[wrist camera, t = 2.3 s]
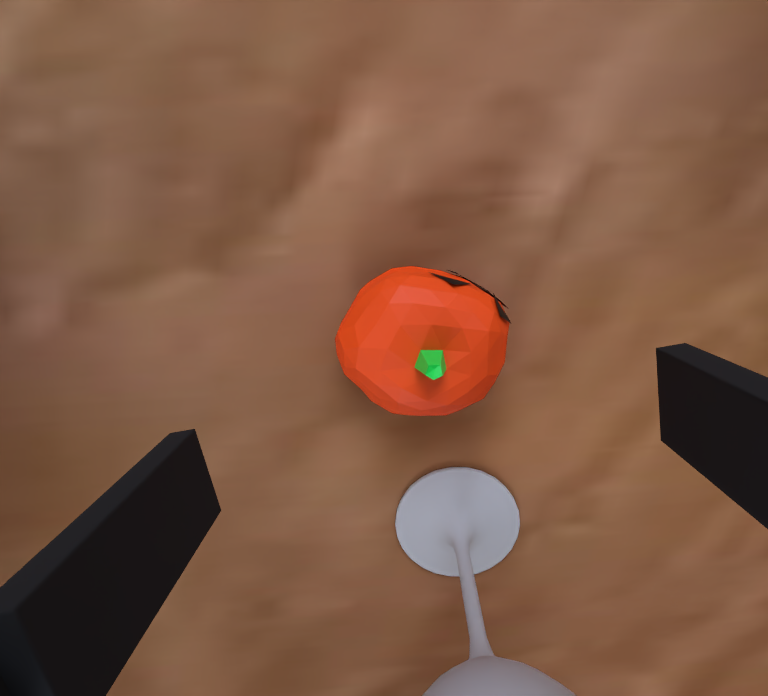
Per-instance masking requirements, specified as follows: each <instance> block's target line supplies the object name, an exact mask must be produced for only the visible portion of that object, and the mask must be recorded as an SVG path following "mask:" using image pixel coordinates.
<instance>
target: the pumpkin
mask: <svg viewBox="0 0 768 696" xmlns="http://www.w3.org/2000/svg"><path fill="white" fill-rule="evenodd" d="M448 271H449V270H448ZM451 272H453V271H451ZM453 273H456V272H453ZM456 274H458V273H456ZM458 275H459V274H458ZM460 276H461V275H460ZM460 276H457V275H453V274H450V273H447V272H444V271H440V270H434V269H427V268H421V267H414V266H408V267H399V268H391V269H390V270H388V271H386V272H385V273H383V274H381V275H379V276H378V277H376V278H374V279H373V280H371V281H369V282H368V283H367V284H366V285H365V286H364V287H363V288H362V289H361V290H360V291H359V293H358V294H357V296H356V298H355V300H354V302H353V303H352V305H351V307H350V309H349V310H348V312H347V314H346V315H345V317H344V319H343V320H342V322H341V325H340V327H339V330H338V332H337V335H336V338H335V342H336V351H337V356H338V359H339V361H340V364H341V366H342V369H343V371H344V374H345V375H346V376H347V377H348V378H349V379H350V380H351V381H353V382H354V383H355V384H356V385H357V386H358V387H359V388H361V389H362V390H363V392H364V393H365V394H366V395H367V396H368V398H369V399H370V400H371V401H372V402H374V403H376V404H377V405H379V406H381V407H382V408H384V409H386V410H388V411H389V412H391V413H394V414H402V415H415V416H438V415H448V414H451V413H454V412H456V411H459V410H461V409H463V408H465V407H467V406H469V405H471V404H473V403H475V402H477V401H479V400H482V399H483V398H484V397H485V396H486V394H487V393H488V391H489V390H490V388H491V387H492V386H493V384H494V383H495V381H496V379H497V377H498V375H499V373H500V371H501V369H502V367H503V365H504V362H505V354H506V344H507V335H508V329H509V322H510V320H509V319H508V317H507V315H506V314H505V311H504V309H503V307H502V305H504V304H503V303H502V302H501V301H500V300H499V299H498V298H496V297H495V295H494V296H493V295H492V294H491V293H489V291H488V290H486V289H484V288H482V287H481V286H479V285H477V284H475V283H473V282H472V281H470V280H468V279H466V278H464V277H462V276H461V277H460ZM501 304H502V305H501ZM504 306H505V305H504ZM505 307H506V306H505ZM507 308H508V307H507ZM508 309H509V308H508ZM510 323H511V322H510Z"/></svg>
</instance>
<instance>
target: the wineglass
mask: <svg viewBox="0 0 768 696" xmlns="http://www.w3.org/2000/svg"><path fill="white" fill-rule="evenodd" d="M395 525H396V531H397V537H398V539H399V542H400V544H401V546H402V548H403V550H404V551H405V552H406V553H407V555H408V556H409V557H410V558H411V559H412V560H413V561H414V562H416V563H417V564H418V565H420V566H421V567H422V568H425V569H427V570H429V571H431V572H433V573H437V574H441V575H446V576H460V582H461V588H462V595H463V601H464V607H465V613H466V619H467V625H468V631H469V637H470V654H469V659H468V660H467V661H465V662H463V663H461V664H459V665H457V666H455V667H453V668H451V669H450V670H448V671H447V672H445V673H444V674H442V675H441V676H439V677H438V678H437V680H436V681H435V682H434V683H433V684H432V685H431V686H430V687H429V688H428V689H427V691H426V692H425V693H424V694H423V695H422V696H577V695H575V694H574V693H573V692H571V691H570V690H569V689H567V688H566V687H565V686H564V685H562V684H561V683H559V682H558V681H556V680H554V679H553V678H551V677H549V676H548V675H546V674H544V673H543V672H541V671H539V670H538V669H536V668H534V667H531V666H529V665H527V664H525V663H522V662H518V661H514V660H510V659H505V658H500V657H496V656H495V655H494V654H493V652H492V649H491V647H490V644H489V642H488V639H487V636H486V631H485V626H484V621H483V617H482V612H481V607H480V602H479V597H478V592H477V587H476V582H475V578H474V574H478V573H480V572H482V571H485V570H487V569H489V568H491V567H493V566H494V565H496V564H497V563H498V562H500V561H501V560H503V558H504V557H505V556H506V555H507V554H508V553H509V552H510V550H511V549H512V547H513V545H514V543H515V541H516V539H517V537H518V532H519V527H520V520H519V511H518V508H517V505H516V503H515V500H514V498H513V496H512V495H511V493H510V492H509V490H508V489H507V488H506V486H505V485H503V484H502V483H501V482H500V481H499V480H497V479H496V478H495V477H493V476H491V475H489V474H487V473H485V472H483V471H481V470H476V469H472V468H468V467H449V468H444V469H440V470H435V471H433V472H431V473H429V474H427V475H425V476H422V477H421V478H420V479H418V480H417V481H416V482H415V483H413V484H412V485H411V486H410V487H409V488H408V490H407V491H406V492H405V494H404V495H403V496H402V498H401V501H400V503H399V505H398V508H397V513H396V521H395Z"/></svg>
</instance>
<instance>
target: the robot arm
mask: <svg viewBox="0 0 768 696" xmlns="http://www.w3.org/2000/svg"><path fill="white" fill-rule="evenodd" d="M656 357H657V376H658V394H659V413H660V431H661V441H662V442H664V443H665V444H666V445H667V446H668V447H670V448H671V449H672V450H673V451H674V452H676V453H677V454H678V455H679V456H680V457H682V458H683V459H684V460H685V461H686V462H688V463H689V464H690V465H691V466H692V467H694V468H695V469H696V470H697V471H698V472H700V473H701V474H702V475H703V476H705V477H706V478H707V479H708V480H709V481H711V482H712V483H713V484H714V485H715V486H717V487H718V488H719V489H720V490H721V491H723V492H724V493H725V494H726V495H727V496H729V497H730V498H731V499H732V500H733V501H735V502H736V503H737V504H738V505H739V506H741V507H742V508H743V509H744V510H745V511H747V512H748V513H749V514H750V515H751V516H753V517H754V518H755V519H756V520H758V521H759V522H760V523H761V524H762V525H764V526H765V527H766V528H767V529H768V377H765V376H763V375H760V374H758V373H756V372H753V371H751V370H748V369H746V368H744V367H741V366H739V365H736V364H734V363H732V362H729V361H727V360H725V359H722V358H720V357H717V356H715V355H713V354H710V353H708V352H705V351H703V350H701V349H698V348H696V347H693V346H691V345H689V344H686V343H683V344H677V345H672V346H666V347H660V348H656ZM220 511H221V508H220V505H219V502H218V499H217V496H216V493H215V490H214V487H213V484H212V481H211V478H210V475H209V471H208V468H207V465H206V462H205V459H204V456H203V453H202V450H201V447H200V444H199V441H198V438H197V434H196V431H195V429H192V430H186V431H180V432H174V433H170V434H169V435H168V436H166V437H165V438H164V439H163V440H162V441H161V442H160V443H159V444H158V445H157V446H155V447H154V448H153V449H152V450H151V451H150V452H149V453H148V454H147V455H146V456H145V457H143V458H142V459H141V460H140V461H139V462H138V463H137V464H136V465H135V466H134V467H132V468H131V469H130V470H129V471H128V472H127V473H126V474H125V475H124V476H123V477H121V478H120V479H119V480H118V481H117V482H116V483H115V484H114V485H113V486H112V487H111V488H109V489H108V490H107V491H106V492H105V493H104V494H103V495H102V496H101V497H100V498H98V499H97V500H96V501H95V502H94V503H93V504H92V505H91V506H90V507H89V508H88V509H86V510H85V511H84V512H83V513H82V514H81V515H80V516H79V517H78V518H77V519H75V520H74V521H73V522H72V523H71V524H70V525H69V526H68V527H67V528H66V529H64V530H63V531H62V532H61V533H60V534H59V535H58V536H57V537H56V538H55V539H54V540H52V541H51V542H50V543H49V544H48V545H47V546H46V547H45V548H44V549H42V550H41V551H40V552H39V553H38V554H37V555H35V556H34V557H33V558H32V559H31V560H30V561H29V562H28V563H27V564H26V565H24V566H23V568H22V569H21V570H20V571H18V572H17V573H16V574H15V575H13V576H12V577H11V578H10V579H9V580H8V581H7V582H6V583H5V584H4V585H3V586H1V587H0V696H106V694H107V693H108V691H109V690H110V688H111V686H112V685H113V683H114V682H115V680H116V678H117V677H118V675H119V674H120V672H121V670H122V669H123V667H124V665H125V664H126V662H127V661H128V659H129V657H130V656H131V654H132V653H133V651H134V649H135V648H136V646H137V645H138V643H139V641H140V640H141V638H142V637H143V635H144V633H145V632H146V630H147V629H148V627H149V625H150V624H151V622H152V621H153V619H154V617H155V616H156V614H157V613H158V611H159V609H160V608H161V606H162V605H163V603H164V601H165V600H166V598H167V596H168V595H169V593H170V592H171V590H172V588H173V587H174V585H175V584H176V582H177V580H178V579H179V577H180V576H181V574H182V572H183V571H184V569H185V568H186V566H187V564H188V563H189V561H190V560H191V558H192V556H193V555H194V553H195V552H196V550H197V548H198V547H199V545H200V544H201V542H202V540H203V539H204V537H205V536H206V534H207V532H208V531H209V529H210V527H211V526H212V524H213V523H214V521H215V519H216V518H217V516H218V515H219V513H220Z"/></svg>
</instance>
